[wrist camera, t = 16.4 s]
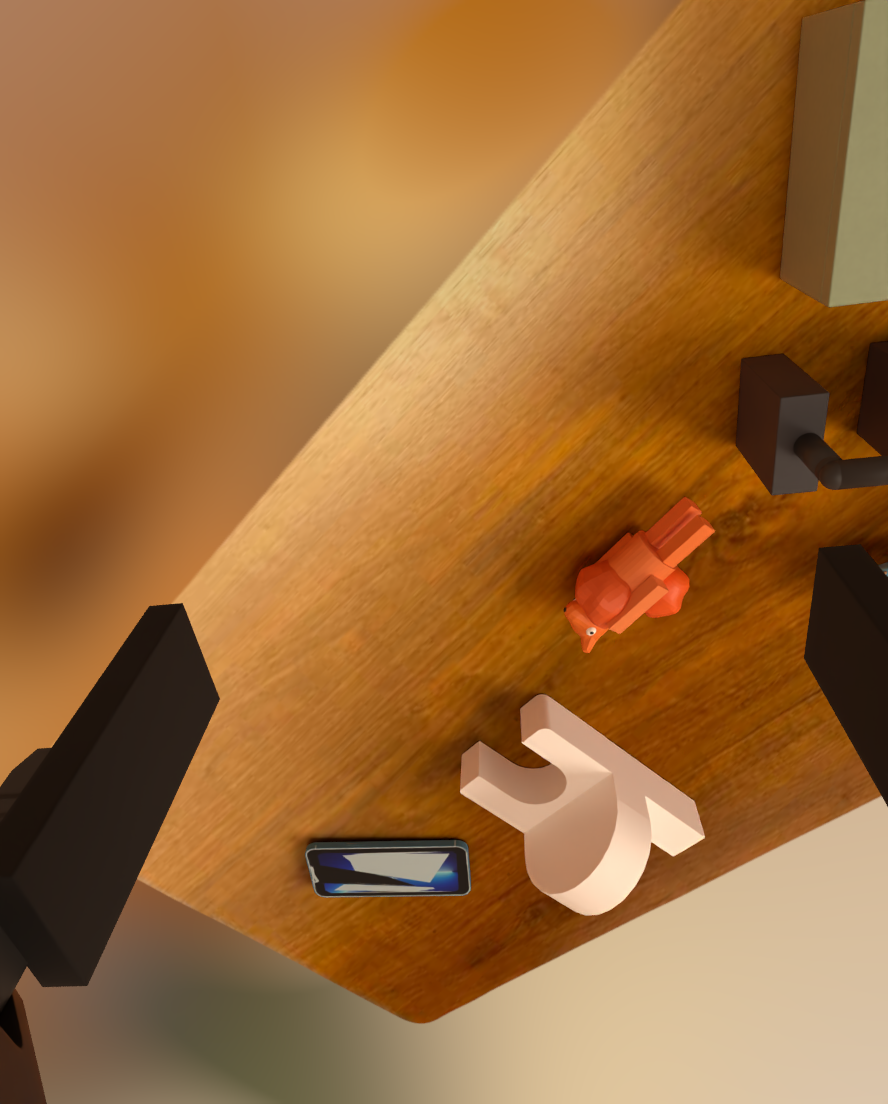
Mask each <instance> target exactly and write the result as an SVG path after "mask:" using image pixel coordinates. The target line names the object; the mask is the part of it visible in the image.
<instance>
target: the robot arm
mask: <svg viewBox="0 0 888 1104" xmlns="http://www.w3.org/2000/svg"><path fill="white" fill-rule="evenodd" d="M804 659H805V661H806V663H807V664H808V666H809V668H810V670H811V671H812V673H813V675H814V677H815V679H816V680H817V682H818V684H819V686H820V687H821V689H822V691H823V693H824V694H825V696H826V698H827V700H828V702H829V703H830V705H831V707H832V709H833V710H834V712H835V714H836V716H837V717H838V719H839V721H840V723H841V725H842V726H843V728H844V730H845V732H846V733H847V735H848V737H849V739H850V740H851V742H852V744H853V746H854V748H855V749H856V751H857V753H858V755H859V756H860V758H861V760H862V762H863V764H864V765H865V767H866V769H867V771H868V772H869V774H870V776H871V778H872V779H873V781H874V783H875V785H876V787H877V788H878V790H879V792H880V794H881V795H882V797H883V799H884V801H885V802H886V804H887V806H888V577H887V575H886V574H885V573H884V572H883V571H882V569H881V568H880V567H879V566H878V565H877V563H876V562H875V561H874V560H873V559H872V558H871V556H870V555H869V554H868V553H867V552H866V550H865V549H864V548H863V547H862V546H861V544H859V545H847V546H836V547H824V548H819V551H818V559H817V566H816V574H815V581H814V588H813V596H812V603H811V610H810V618H809V625H808V632H807V640H806V647H805V655H804ZM219 700H220V698H219V696H218V693H217V691H216V688H215V685H214V683H213V680H212V678H211V675H210V672H209V670H208V667H207V665H206V662H205V660H204V657H203V654H202V652H201V649H200V647H199V644H198V642H197V639H196V636H195V634H194V631H193V629H192V626H191V623H190V621H189V618H188V616H187V613H186V611H185V608H184V605H183V603H180V604H168V605H157V606H149V608H148V609H147V610H146V612H145V613H144V615H143V616H142V618H141V619H140V620H139V622H138V623H137V625H136V626H135V628H134V629H133V631H132V632H131V634H130V635H129V636H128V638H127V639H126V641H125V642H124V644H123V645H122V647H121V648H120V649H119V651H118V652H117V654H116V655H115V657H114V658H113V660H112V661H111V663H110V664H109V666H108V667H107V668H106V670H105V671H104V673H103V674H102V676H101V677H100V678H99V680H98V681H97V683H96V684H95V686H94V687H93V689H92V690H91V692H90V693H89V694H88V696H87V697H86V699H85V700H84V702H83V703H82V705H81V706H80V708H79V709H78V710H77V712H76V713H75V715H74V716H73V718H72V719H71V720H70V722H69V723H68V725H67V726H66V728H65V729H64V731H63V732H62V734H61V735H60V736H59V738H58V739H57V741H56V742H55V744H54V745H53V747H52V748H44V749H43V748H42V749H37V750H36V751H34V752H33V753H32V754H31V755H30V756H29V757H28V758H26V759H25V760H24V761H23V762H22V763H20V764H19V765H18V766H17V767H16V768H15V769H13V770H12V771H11V773H10V774H9V775H8V777H7V778H6V780H5V781H4V782H3V784H2V785H1V787H0V1104H47V1103H46V1099H45V1095H44V1090H43V1086H42V1082H41V1077H40V1073H39V1069H38V1065H37V1060H36V1056H35V1052H34V1047H33V1043H32V1038H31V1034H30V1030H29V1025H28V1021H27V1017H26V1012H25V1008H24V1004H23V1000H22V999H21V997H20V995H19V994H18V992H17V991H16V989H15V987H16V985H17V983H18V982H19V979H20V978H21V976H22V974H23V972H24V970H25V969H26V967H27V966H28V968H29V969H30V971H31V972H32V973H33V975H34V976H35V977H36V979H37V980H38V981H39V983H40V984H41V985H42V987H59V986H60V987H61V986H87V985H88V983H89V981H90V979H91V977H92V975H93V972H94V970H95V968H96V966H97V964H98V962H99V959H100V957H101V955H102V953H103V951H104V949H105V946H106V944H107V942H108V940H109V938H110V936H111V933H112V931H113V929H114V927H115V925H116V923H117V921H118V918H119V916H120V914H121V912H122V910H123V908H124V905H125V903H126V901H127V899H128V897H129V895H130V892H131V890H132V888H133V886H134V884H135V881H136V879H137V877H138V875H139V873H140V871H141V869H142V866H143V864H144V862H145V860H146V858H147V856H148V853H149V851H150V849H151V847H152V845H153V843H154V840H155V838H156V836H157V834H158V832H159V830H160V827H161V825H162V823H163V821H164V819H165V817H166V815H167V812H168V810H169V808H170V806H171V804H172V802H173V799H174V797H175V795H176V793H177V791H178V789H179V786H180V784H181V782H182V780H183V778H184V776H185V773H186V771H187V769H188V767H189V765H190V763H191V760H192V758H193V756H194V754H195V752H196V750H197V747H198V745H199V743H200V741H201V739H202V737H203V734H204V732H205V730H206V728H207V726H208V724H209V721H210V719H211V717H212V715H213V713H214V711H215V708H216V706H217V704H218V702H219Z"/></svg>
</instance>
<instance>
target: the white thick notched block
mask: <svg viewBox="0 0 888 1104" xmlns="http://www.w3.org/2000/svg"><path fill="white" fill-rule="evenodd" d="M520 713H521V735H522V743H523V744H524V745H526V746H527V747H529V748H530V749H531V750H533V751H534V752H536V753H537V754H539V755H540V756H542V757H543V758H545V759H546V760H548V761H549V762H551V763H552V764H550V765H548V766H545V767H542V768H535V769H532V768H524V767H520V766H518V765H516V764H514V763H512V762H511V761H509V760H508V759H506V758H505V757H503V756H502V755H500V754H499V753H497V752H496V751H494V750H493V749H491V748H490V747H488V746H487V745H485V744H484V743H482V742H481V741H479V742H477V743H476V744H475V745H473V746H472V747H471V748H470V749H468V750H467V751H466V752H465V753H463V754H462V764H461V785H460V793H461V794H463V795H464V796H466V797H467V798H469V799H471V800H472V801H474V802H475V803H477V804H479V805H480V806H482V807H483V808H485V809H486V810H488V811H490V812H491V813H493V814H494V815H496V816H497V817H499V818H501V819H502V820H504V821H505V822H507V823H509V824H510V825H512V826H513V827H515V828H516V829H518V830H520V831H521V832H523V833H524V841H525V860H526V867H527V872H528V875H529V877H530V879H531V881H532V883H533V884H534V885H535V886H536V887H537V888H538V889H539V890H540V891H542V892H544V893H545V894H547V895H548V896H550V897H552V898H553V899H555V900H557V901H558V902H560V903H562V904H563V905H565V906H567V907H568V908H570V909H572V910H573V911H575V912H578V913H580V914H583V915H599V914H601V913H604V912H606V911H609V910H611V909H612V908H614V907H615V906H616V905H618V904H619V903H620V902H622V901H623V900H624V899H625V898H626V897H627V895H628V894H629V893H630V892H631V891H632V889H633V888H634V887H635V886H636V884H637V882H638V880H639V878H640V877H641V875H642V873H643V871H644V869H645V866H646V863H647V860H648V857H649V854H650V846H651V842H652V843H654V844H655V845H657V846H658V847H660V848H661V849H663V850H664V851H666V852H667V853H669V854H670V855H672V856H675V855H677V854H678V853H680V852H682V851H684V850H685V849H687V848H689V847H690V846H692V845H694V844H695V843H697V842H699V841H700V840H702V839H704V838H705V836H704V832H703V829H702V825H701V822H700V818H699V815H698V812H697V808H696V805H695V801H693V800H692V799H691V798H689V797H688V796H686V795H685V794H684V793H682V792H681V791H679V790H678V789H677V788H675V787H674V786H673V785H671V784H670V783H668V782H667V781H666V780H664V779H663V778H661V777H660V776H659V775H657V774H656V773H654V772H653V771H652V770H650V769H649V768H647V767H646V766H645V765H643V764H642V763H640V762H639V761H638V760H636V759H635V758H633V757H632V756H631V755H629V754H628V753H627V752H625V751H624V750H622V749H621V748H620V747H618V746H617V745H615V744H614V743H613V742H611V741H610V740H608V739H607V738H606V737H605V736H603V735H602V734H601V733H599V732H598V731H596V730H595V729H594V728H592V727H591V726H589V725H588V724H587V723H585V722H584V721H582V720H581V719H580V718H578V717H577V716H576V715H574V714H573V713H571V712H570V711H569V710H567V709H566V708H564V707H563V706H562V705H560V704H559V703H557V702H556V701H555V700H553V699H552V698H550V697H549V696H547V695H544V694H540V695H537V696H535V697H534V698H533V699H532V700H530V701H529V702H528V703H526V704H525V705H524V706H523V707H521V708H520Z"/></svg>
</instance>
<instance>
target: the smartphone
mask: <svg viewBox="0 0 888 1104" xmlns="http://www.w3.org/2000/svg"><path fill="white" fill-rule="evenodd" d="M305 857H306V861H307V865H308V869H309V873H310V876H311V880H312V884H313V888H314V891H315V893H316V894H317V895H319V896H321V897H393V896H462V895H466V894H468V893H469V892H470V891H471V877H470V865H469V853H468V846H467V844H466V843H465V842H463V841H460V840H424V841H367V842H315V843H311V844H309V845H308V846H307V848H306V852H305Z"/></svg>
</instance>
